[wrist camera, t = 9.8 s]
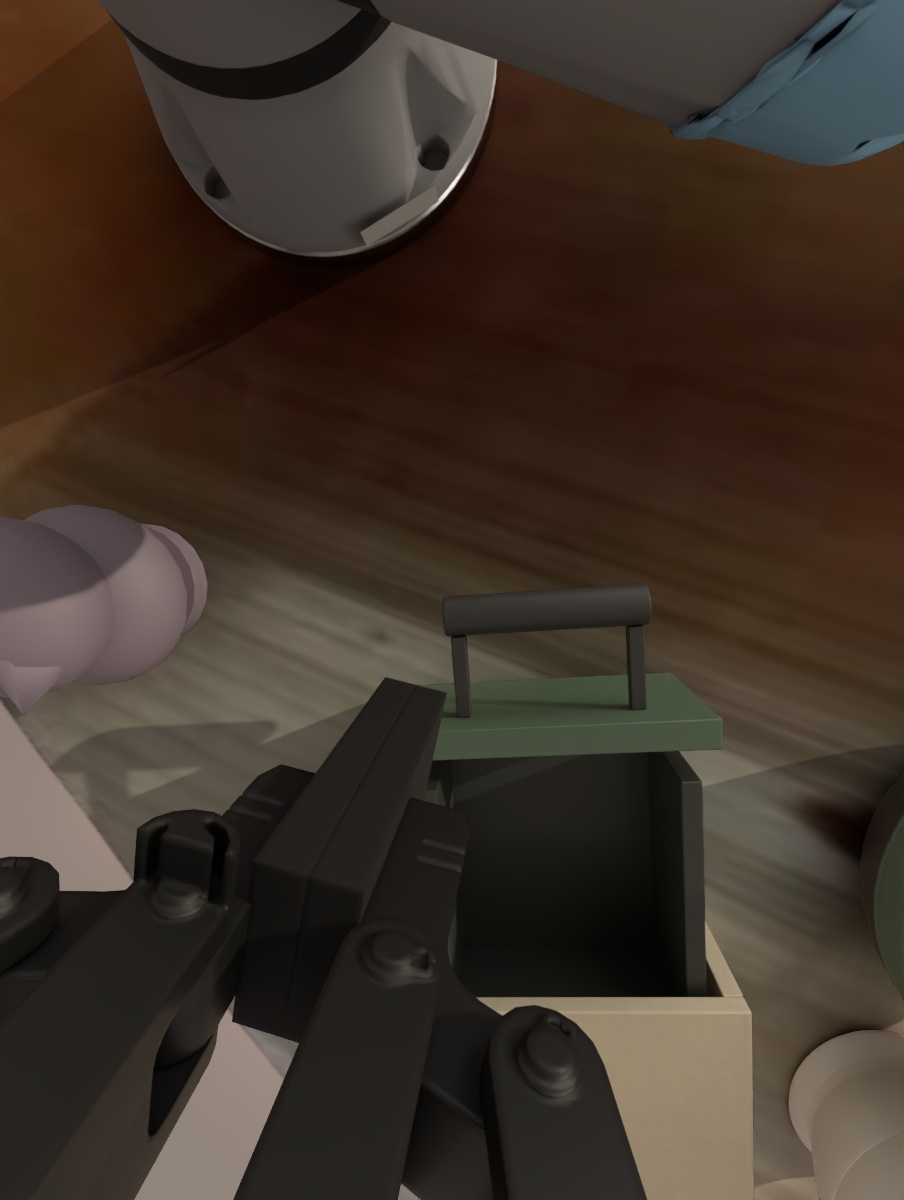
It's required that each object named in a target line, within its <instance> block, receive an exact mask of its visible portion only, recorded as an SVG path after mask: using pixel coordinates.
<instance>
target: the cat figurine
mask: <svg viewBox="0 0 904 1200" xmlns="http://www.w3.org/2000/svg"><path fill="white" fill-rule="evenodd" d="M207 586H208V582H207V578H206V574H205V570H204V566H203V563H202V561H201V560H200V558H199V556H198V555H197V553H196V551H195V550H194V548H193V547H192V546H191V545H190V544H189V543H188V542H187V541H186V540H185V539H184V538H182V537H181V536H180V535H179V534H177V533H175V532H173V531H171V530H169V529H167V528H165V527H163V526H157V525H149V524H140V523H138V522H136V521H134V520H132V519H130V518H128V517H126V516H124V515H121V514H119V513H117V512H115V511H113V510H109V509H103V508H97V507H91V506H84V505H78V504H77V505H69V506H63V507H57V508H51V509H45V510H42V511H39V512H37V513H35V514H34V515H32V516H30V517H29V518H27V519H25V520H19V519H13V518H7V517H0V696H1V697H7V698H8V697H9V698H10V699H11V701H12V702H13V703H14V704H15V705H16V707H17V708H18V709H19V710H20V711H21V712H22V714H23V715H24V716H25V715H26V714H27V713H28V711H29V710H30V709H31V708H32V707H33V706H34V705H35V704H36V703H37V702H38V701H39V700H40V699H41V698H42V697H43V695H44V694H45V693H48V692H52V691H55V690H57V689H59V688H60V687H62V686H64V685H66V684H68V683H70V682H72V681H74V682H80V683H85V684H92V685H100V684H108V683H115V682H123V681H127V680H131V679H133V678H135V677H137V676H139V675H141V674H143V673H145V672H147V671H149V670H151V669H152V668H154V667H156V666H157V665H159V664H160V663H161V662H162V660H163V659H164V658H165V657H166V656H167V655H168V654H169V653H170V651H171V650H172V649H173V648H174V647H175V646H176V644H177V643H178V641H179V638H180V636H182V635H184V634H185V633H187V632H189V630H190V629H191V628H192V627H193V626H194V625H195V623H196V622H197V621H198V620H199V619H200V617H201V614H202V612H203V609H204V607H205V604H206V602H207Z"/></svg>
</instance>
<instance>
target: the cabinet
mask: <svg viewBox="0 0 904 1200" xmlns="http://www.w3.org/2000/svg"><path fill="white" fill-rule="evenodd" d="M705 940H706V986H707V997H476V998H477V999H478V1000H480V1001H481V1002H482V1003H484V1004H485V1005H487V1006H488V1007H490V1008H491V1009H493V1010H495V1011H496V1012H498V1013H499V1014H501V1015H502V1016H503V1015H504V1014H506V1013H507V1012H509V1011H510V1010H512V1009H513V1008H515V1007H521V1006H529V1005H537V1006H541V1007H545V1008H549V1009H553V1010H556V1011H558V1012H559V1013H561V1014H562V1015H564V1016H566V1017H567V1018H569V1019H570V1020H572V1021H574V1022H575V1023H576V1024H577V1025H578V1026H579V1027H580V1028H581V1029H582V1030H583V1031H584V1032H585V1033H586V1035H587V1036H588V1037H589V1038H590V1039H591V1040H592V1041H593V1043H594V1045H595V1047H596V1049H597V1051H598V1053H599V1055H600V1057H601V1059H602V1061H603V1063H604V1065H605V1068H606V1071H607V1074H608V1078H609V1081H610V1084H611V1087H612V1090H613V1093H614V1096H615V1100H616V1103H617V1106H618V1109H619V1112H620V1115H621V1118H622V1122H623V1125H624V1128H625V1131H626V1134H627V1137H628V1140H629V1144H630V1147H631V1150H632V1153H633V1156H634V1159H635V1162H636V1166H637V1169H638V1172H639V1175H640V1178H641V1181H642V1184H643V1188H644V1191H645V1194H646V1197H647V1200H754V1178H753V1088H752V1013H751V1011H750V1009H749V1007H748V1005H747V1003H746V1001H745V999H744V998H743V994H742V992H741V990H740V988H739V986H738V984H737V982H736V980H735V978H734V976H733V974H732V972H731V970H730V968H729V967H728V965H727V963H726V961H725V959H724V957H723V955H722V953H721V951H720V949H719V947H718V945H717V943H716V941H715V939H714V937H713V935H712V933H711V931H710V929H709V927H708V925H707V923H706V921H705ZM417 1198H418V1197H417ZM418 1200H421V1199H419V1198H418Z"/></svg>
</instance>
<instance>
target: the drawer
mask: <svg viewBox="0 0 904 1200" xmlns="http://www.w3.org/2000/svg"><path fill="white" fill-rule="evenodd" d="M651 613H652V605H651V596H650V592H649V589H648V587H647V585H645V584H635V585H620V586H604V587H589V588H573V589H558V590H542V591H527V592H511V593H496V594H480V595H465V596H449V597H444V599H443V624H444V631H445V634H446V636H452V637H451V647H452V660H453V673H454V683H451V684H431V685H418V686H422V687H426V688H430V689H434V690H438V691H442V692H446V693H447V695H446V700H445V704H444V709H443V714H442V718H441V723H440V728H439V732H438V737H437V742H436V746H435V751H434V756H433V761H432V765H431V770H430V775H429V779H428V784H427V789H426V793H425V796H424V799H423V801H427V802H430V803H434V804H438V805H442V806H445V807H449V808H453V809H456V810H460V811H462V812H463V814H464V817H465V820H466V822H467V825H468V828H469V830H470V833H469V838H468V843H467V848H466V853H465V858H464V863H463V868H462V872H461V878H460V883H459V888H458V893H457V898H456V903H455V908H454V913H453V918H452V923H451V928H450V933H449V938H448V955H449V959H450V964H451V966H452V968H453V970H454V972H455V974H456V976H457V978H458V979H459V981H460V982H461V983H462V984H463V986H464V987H465V988H466V989H467V990H468V991H469V992H470V993H471V994H472V995H474V996H475V997H707V986H706V940H705V895H704V849H703V803H702V781H701V780H700V779H699V777H698V776H697V775H696V773H695V772H694V771H693V769H692V768H691V767H690V765H689V764H688V763H687V761H686V760H685V759H684V757H683V756H682V755H681V754H680V752H679V751H692V750H718V749H722V748H723V746H722V719H721V718H720V717H719V716H718V715H717V714H716V713H715V712H713V711H712V710H711V709H710V708H709V707H708V706H707V705H706V704H705V703H704V702H702V701H701V700H700V699H699V698H698V697H697V696H696V695H695V694H694V693H693V692H692V691H690V690H689V689H688V688H687V687H686V686H685V685H684V684H683V683H682V682H681V681H679V680H678V679H677V678H676V677H675V676H674V675H673V674H672V673H670V672H668V673H648V674H646V670H645V640H644V626H643V625H647V624H649V622H650V620H651ZM614 626H626V644H627V670H628V675H609V676H589V677H569V678H549V679H530V680H510V681H490V682H470V678H469V664H468V651H467V637H466V635H477V634H494V633H511V632H528V631H545V630H562V629H580V628H597V627H614Z"/></svg>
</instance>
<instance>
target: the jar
mask: <svg viewBox="0 0 904 1200" xmlns="http://www.w3.org/2000/svg"><path fill="white" fill-rule="evenodd" d="M788 1102H789V1113H790V1117H791V1121H792V1124H793V1126H794V1129H795V1131H796V1133H797V1134H798V1136H799V1138H800V1139H801V1141H802V1142H803V1143H804V1145H805V1146H806V1147H807V1148H808V1149H809V1150H810V1152H811V1153H812V1160H813V1169H814V1175H815V1181H816V1186H817V1190H818V1194H819V1198H820V1200H904V1035H901V1034H898V1033H894V1032H889V1031H881V1030H864V1031H855V1032H851V1033H847V1034H843V1035H840V1036H838V1037H835V1038H833V1039H831V1040H829V1041H827V1042H825V1043H823V1044H822V1045H820V1046H819V1047H817V1048H816V1049H815V1050H814V1051H812V1052H811V1053H810V1054H809V1055H808V1056H807V1057H806V1058H805V1059H804V1061H803V1062H802V1063H801V1065H800V1066H799V1068H798V1069H797V1071H796V1073H795V1075H794V1077H793V1080H792V1083H791V1086H790V1091H789V1100H788Z"/></svg>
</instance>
